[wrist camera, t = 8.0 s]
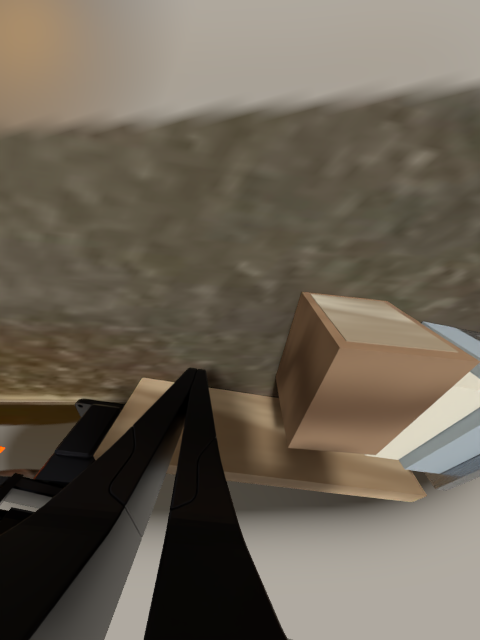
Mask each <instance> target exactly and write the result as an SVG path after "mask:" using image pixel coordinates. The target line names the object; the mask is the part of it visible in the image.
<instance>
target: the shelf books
mask: <svg viewBox="0 0 480 640" xmlns="http://www.w3.org/2000/svg"><path fill="white" fill-rule="evenodd" d="M421 324H423V325H424V326H426V327H427V328H429V329H431V330H432V331H434V332H435V333H437V334H438V335H440V336H441V337H443V338H444V339H446V340H448V341H449V342H451V343H452V344H454V345H455V346H457V347H458V348H460V349H462V350H463V351H465V352H466V353H468V354H469V355H471V356H472V357H474V358H476V359H477V360H479V361H480V341H478V340H476V339H475V338H473V337H471V336H469V335H467V334H466V333H464V332H462V331H460V330H459V329H457V328H453V327H448V326H443V325H438V324H433V323H428V322H422V323H421ZM479 454H480V363H479V364H478V365H476V366H475V367H474V368H473V369H472V370H471V371H470V372H469V373H467V374H466V375H465V376H464V377H463V378H462V379H461V380H460V381H458V382H457V383H456V384H455V385H454V386H453V387H452V388H451V389H449V390H448V391H447V392H446V393H445V394H444V395H443V396H442V397H440V398H439V399H438V400H437V401H436V402H435V403H434V404H433V405H431V406H430V407H429V408H428V409H427V410H426V411H425V412H424V413H422V414H421V415H420V416H419V417H418V418H417V419H416V420H415V421H413V422H412V423H411V424H410V425H409V426H408V427H407V428H406V429H404V430H403V431H402V432H401V433H400V434H399V435H398V436H397V437H395V438H394V439H393V440H392V441H391V442H390V443H389V444H388V445H386V446H385V447H384V448H383V449H382V450H381V451H380V452H379V453H377V454H376V455H368V454H364V455H365V456H372V457H380V458H387V459H395V460H399V461H400V463H401V464H402V466H403V468H404V469H406V470H415V471H422V472H429V473H437V474H440V473H442V472H444V471H446V470H448V469H450V468H452V467H454V466H456V465H458V464H461V463H463V462H465V461H467V460H469V459H471V458H473V457H475V456H477V455H479Z"/></svg>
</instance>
